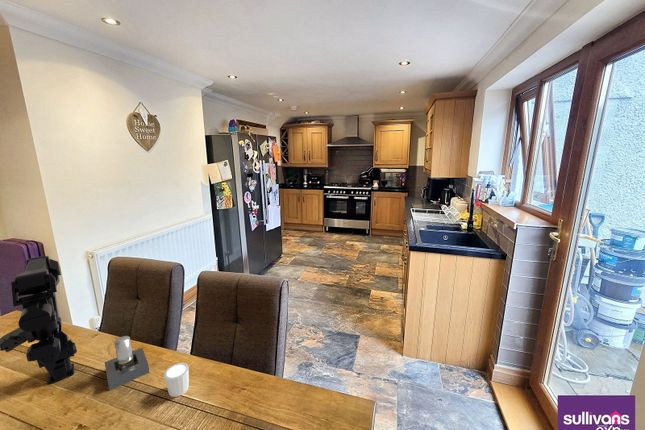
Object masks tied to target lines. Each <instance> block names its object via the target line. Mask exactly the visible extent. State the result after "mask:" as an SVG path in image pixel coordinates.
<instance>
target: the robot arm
mask: <svg viewBox="0 0 645 430" xmlns="http://www.w3.org/2000/svg"><path fill="white" fill-rule="evenodd" d="M60 266H61V265H60V264H59V261H57V260H54V259H53V258H50V256H49V255H47V256H46V255H42V256H36V257H35V256H34V257H30V258H28V259H26V264H25V265H24V267H23V272H22V273H19V274H16V275H15V277H14V279H13V280H12V281H11V284H10V285H11V294H12V295H11V296H12V305H13V307H17V306H22V311H21V313H20V316H19V320H18V323H17V324H18V327H17V328H15V329H14V330H11V331H10V332H7V334H4V335H2V336H1V337H0V351H1V352H6V353H9V352H12V351H13V350H14V349H15V348H17V347H19V346H21V345H22V344H25V343H26V342H27V343H28V344H29V343H32V344H31V345H30V346H28V348H27V351H26V354H25V357H26V360H27V362H30V363H31V362H35V361H37V365H38V367H39V369H43V368H45V370H46V372H47V373H48V374H47V382H46V383H47V385H51V384H52V383H53V384H54V383H55V382H58V381H61V380H63V379H66V378H68V377H70V376H73V375H74V374H75V363H72V362H71V358H72V357H74V356H75V354H77V353H78V350H77V346H76V343H75V342H74V341H73V340H72V339H70V338H69V335H68V334H66V332H64V331H63V330H62V324H63V323H62V317H60V316H59V315H60V314H59V309H58V302H57V294H56V293H57V292H58V290H57V286H58V284H60V276H62V271H61V267H60ZM35 341H38V342H35ZM33 342H35V343H33Z"/></svg>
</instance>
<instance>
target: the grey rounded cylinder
mask: <svg viewBox="0 0 645 430" xmlns="http://www.w3.org/2000/svg"><path fill="white" fill-rule="evenodd" d="M131 343H132V342H131V337H130V336H129V335H123V336H120V337H118V338H117V339H115V340H114V348H115V355H116V358H117V360H118V366H119V370H118V372H119V371H122V370H124V369H126V368H129V367H131V366H133V365H135V363H134V360H133V354H132V351H133V348H132V344H131Z"/></svg>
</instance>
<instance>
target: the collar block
mask: <svg viewBox="0 0 645 430" xmlns="http://www.w3.org/2000/svg"><path fill="white" fill-rule="evenodd" d="M132 354H133V360H134V365H133V366H131V367H129V368H126V369H124V370H122V371H119V366H118V360H117V357H115V358H112V359H109V360H107V361H104V366H105V373H106V378H107V379H106V380H107V385H108V389H109V391H112V390H113V389H116V388H119V387H121V386H122V385H125V384H127V383H129V382H131V381H132V382H133V381H134V380H136V379H138V378H140V377H143V376H145V375H147V374H150V367H149V362H148V359H147V357H146V354H145V351H144V348H143V347H140V348H137V349H135V350H132Z"/></svg>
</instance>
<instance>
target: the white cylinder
mask: <svg viewBox="0 0 645 430" xmlns="http://www.w3.org/2000/svg"><path fill="white" fill-rule="evenodd" d="M189 373H190V372H189V364H187V363H186V362H179V363H175V364H173V365H171V366H169V367H168V368H167V369H166V370H164V375H163V377H164V381H165V383H166V384H165V385H166V387H167V391H168V395H169V396H170V397H172V398H176V397H180V396H182V395H184V394H185V393H186V392H188V390H189V386H190V385H189V384H190V383H189Z"/></svg>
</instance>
